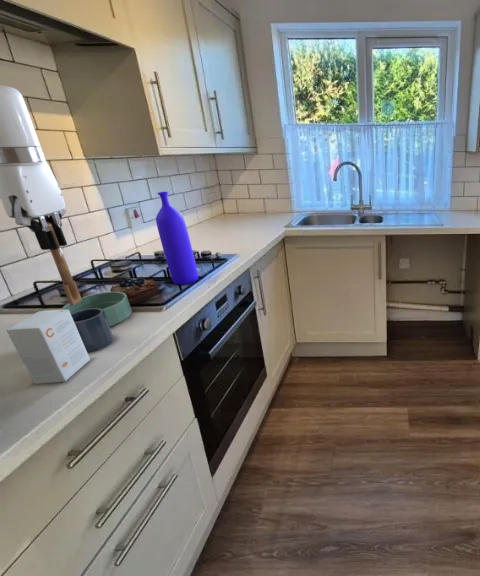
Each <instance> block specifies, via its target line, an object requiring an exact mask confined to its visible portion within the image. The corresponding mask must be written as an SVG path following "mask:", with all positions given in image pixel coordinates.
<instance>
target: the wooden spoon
mask: <svg viewBox="0 0 480 576" xmlns="http://www.w3.org/2000/svg"><path fill="white" fill-rule="evenodd" d="M47 225H48V227H49V230H52V231H53V233H54V236H55V238H56V241H57V244H58V246H59V248H58V249H53V250H49V251H50V253H51V256H52V258H53V261H54V264H55V266H56V269H57V271H58V274H59V277H60V279H61V282H62V288H63V291H64V294H65V296H66V298H67V301H68V303H70V306H74V305H75V304H77V303H78V302H80V301H82V295H81V293H80V291H79V288H78V286H77V283H76V280H74V279H73V276H72V274H71V271H70V268H69V265H68V263H67V261H66V258H65V256H64V252H63V250H62V248H61V247H62V246H60V245H59V242H58V240H57V237H56V234H55V232H54V229H53V227H52V225H51V223H49V222H47Z"/></svg>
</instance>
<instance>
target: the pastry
mask: <svg viewBox="0 0 480 576" xmlns="http://www.w3.org/2000/svg"><path fill="white" fill-rule="evenodd" d="M156 282H157V281H155V280H149V279H145V277H144V276H138V277H137V278H134V277H133V278H132V277H131V278H130V277H126V278H125V279H124V280H122V281H121V282H120V283H116V284H114V285H112V286H111V287H110V290H109V292H122V293H125V294H126V295H127V298H128V301H129V304H130V305H134V304H137V303H140V302H143V301H146V300H149V299H152V298H153V297H155V296H158V295H159V294H160V290H159V286H158V284H157V283H156Z"/></svg>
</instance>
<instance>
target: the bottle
mask: <svg viewBox="0 0 480 576" xmlns="http://www.w3.org/2000/svg"><path fill="white" fill-rule="evenodd" d="M169 194H170V193H169V191H159V192H157V195H159V197H160V200H161V207H160V209H159V210H158V212H157V213H156V216H155V223H156V228H157V232H158V235H159V239H160V243H161V245H162V250H163V253H164V258H165V261H166V265H167V267H168V271H169V274H170V277H171V280H172V282H173V284H174V285H178V286H180V285H181V286H183V285H189V284H193V283H195V282H197V281H198V279H199V272H198V267H197V264H196V259H195V255H194V251H193V247H192V244H191V239H190V235H189V231H188V227H187V225H186V221H185V218H184V216H183V214H182V213H181V212H180V211H179V210H177V208H175V207H174V206H172V205H171V203H170V200H169V197H168V195H169Z"/></svg>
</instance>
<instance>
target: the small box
mask: <svg viewBox="0 0 480 576" xmlns="http://www.w3.org/2000/svg"><path fill="white" fill-rule="evenodd" d="M6 332H7V334H8V337H9V338H10V340H11V342H12V344H13V346H14V348H15V349H16V351H17V353H18V355H19V357H20V359H21V361H22V363H23V365H24V367H25V369H26V371H27V372H28V374H29V376H30V378H31V380H32V382H33V383H34V384H35V385H36V384H37V385H38V384H53V383H65V382H67V381H68V380H69V379H70V378H71V377H72V376H74V375H75V374H76V372H78V371H79V370H81V369H82V367H84V366H85V365H86V364H87V363H88V362H90V360H91V358H90V356H89V352H87V351H86V349H85V346H84V344H83V342H82V339H81V337H80V335H79V332H78V330H77V328H76V325H75V323H74V321H73V318H72V316H71V314H70V311H69V310H61V309H49V310H38V311H37V312H35V313H33V314H31V315H30V316H28V317H26V318H24V319H23V320H21V321H20V322H18V323H16V324H14V325H12V326H10V327H9V328H7V329H6Z"/></svg>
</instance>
